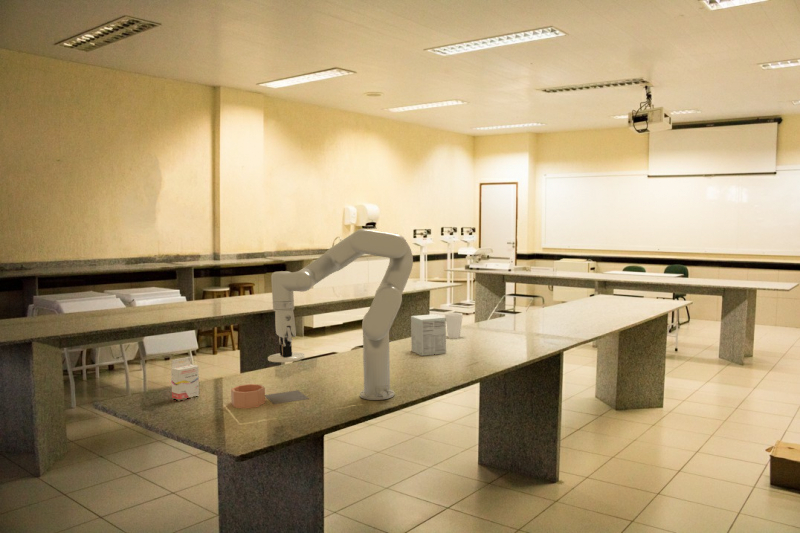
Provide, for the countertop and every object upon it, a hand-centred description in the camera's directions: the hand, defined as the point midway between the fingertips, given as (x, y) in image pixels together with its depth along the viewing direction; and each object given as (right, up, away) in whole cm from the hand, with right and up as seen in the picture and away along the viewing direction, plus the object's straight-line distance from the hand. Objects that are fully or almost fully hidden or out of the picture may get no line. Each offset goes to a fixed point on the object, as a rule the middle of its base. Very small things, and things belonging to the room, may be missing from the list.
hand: (286, 355), depth 225 cm
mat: (0, -16, +1) cm, 16 cm away
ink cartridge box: (-38, -17, +4) cm, 41 cm away
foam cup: (+71, -7, +114) cm, 134 cm away
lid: (0, -1, 0) cm, 1 cm away
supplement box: (+55, -10, +77) cm, 95 cm away
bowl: (-12, -17, -6) cm, 21 cm away
